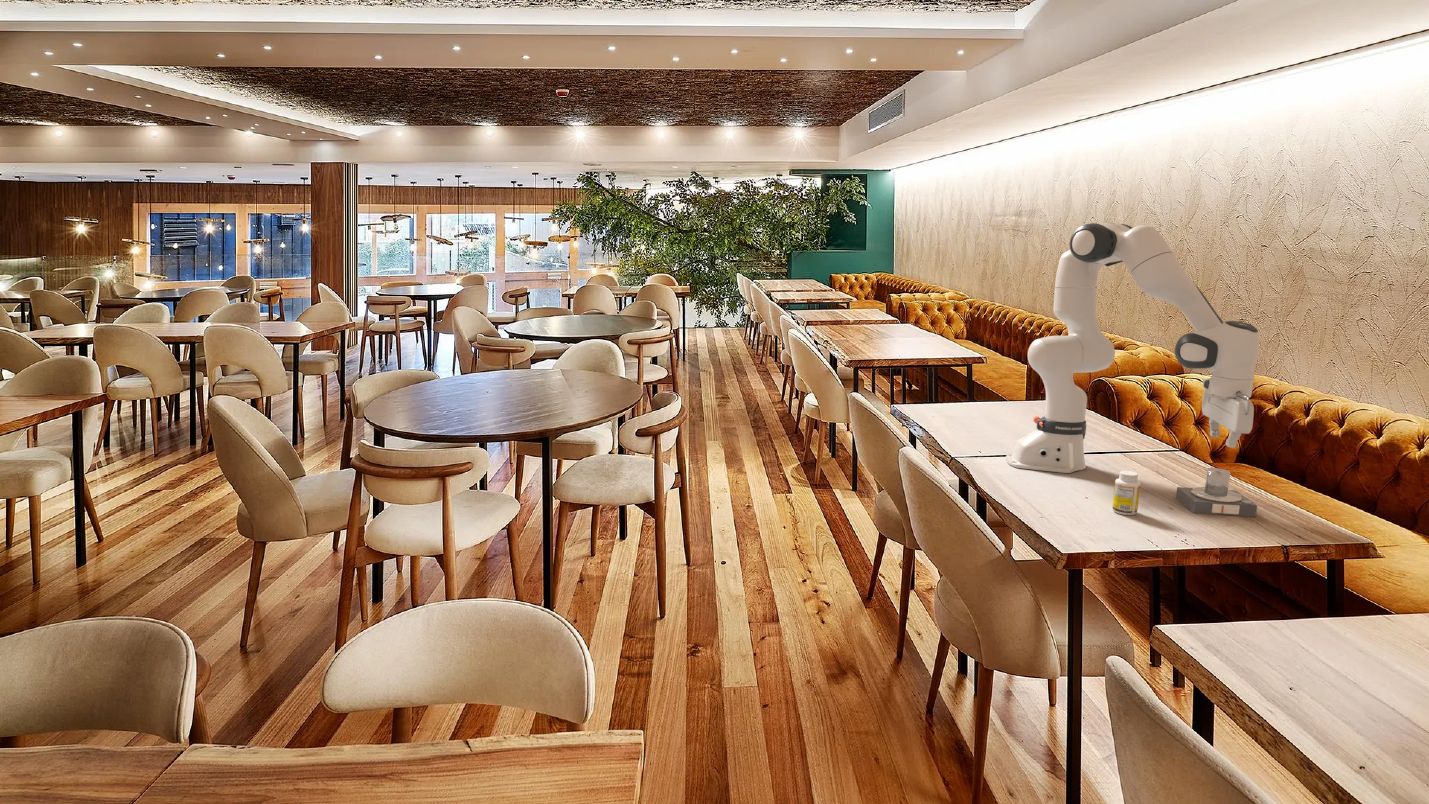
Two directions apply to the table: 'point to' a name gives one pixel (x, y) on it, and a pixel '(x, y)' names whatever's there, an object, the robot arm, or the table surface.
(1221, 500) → the scale pan
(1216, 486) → the cylinder
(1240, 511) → the scale base
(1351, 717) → the table surface
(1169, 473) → the table surface
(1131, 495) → the supplement bottle
